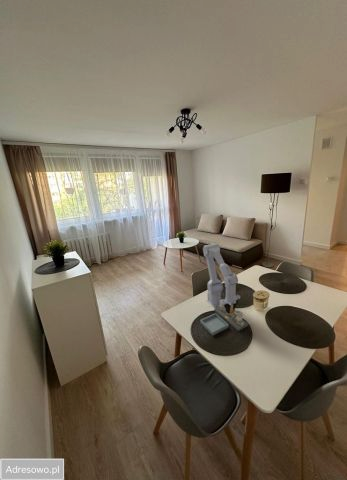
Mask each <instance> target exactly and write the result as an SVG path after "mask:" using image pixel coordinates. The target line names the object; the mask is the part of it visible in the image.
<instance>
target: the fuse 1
mask: <svg viewBox="0 0 347 480" xmlns="http://www.w3.org/2000/svg"><path fill="white" fill-rule="evenodd" d="M224 299H225V298H221V299H220V302H222V301H223V300H224ZM223 309H225V306H221V305H220V310H221V311H223Z"/></svg>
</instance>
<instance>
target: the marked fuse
mask: <svg viewBox="0 0 347 480" xmlns="http://www.w3.org/2000/svg"><path fill="white" fill-rule="evenodd" d="M229 305H231V307H230V313H229V314H228V313H227V314H228V315H233V312H234V311H233V303H229Z"/></svg>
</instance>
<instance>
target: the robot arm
mask: <svg viewBox="0 0 347 480" xmlns="http://www.w3.org/2000/svg"><path fill="white" fill-rule="evenodd" d="M220 251H221V248H220V245H219V244H218V243H216V242H214V243H211V244H207V245H206V244H205V245H204V246H203V247H202V252H203V256H204V257H205V260H206V265H207V270H208V275H209V281H208V282H207V294H206V296H207V300H206V302H207V303H209V304H210V305H211V306H212V307H213V308H216V307H218V305H221V306H225V309H226V312H227V313H228V314H229V313H230V307H231V305H229V303H233V312H235V310H236V308H237V305H238V304H239V301H238V300H240V299H241V295H239V294H236V286H237V283H239V278H238V276H237V274H236V273H234V272H232V270H231V267H229V265H228V264H227V263H225V261H224V259H223V256H222V254H221V253H220ZM214 259H215V260H214ZM215 261H216V262H217V264H218V265H219V270H220V271H219V272H221V274H222V276H223V282H224V285H223V283H222V280H220V279H218V275H217V274H218V273H217V270H216V269H217V268H216V264H215ZM224 287H225V298H223V299H224V300H223V301H222V302H220V299H222V297H221V295H222V294H221V293H222V292H223V290H224Z"/></svg>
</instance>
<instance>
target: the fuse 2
mask: <svg viewBox="0 0 347 480" xmlns="http://www.w3.org/2000/svg"><path fill="white" fill-rule="evenodd" d="M235 312H236V313H235V314H236V323H237V324H238V325H241V323H242V319H243V312H242V311H239V310H237V311H235Z"/></svg>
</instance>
